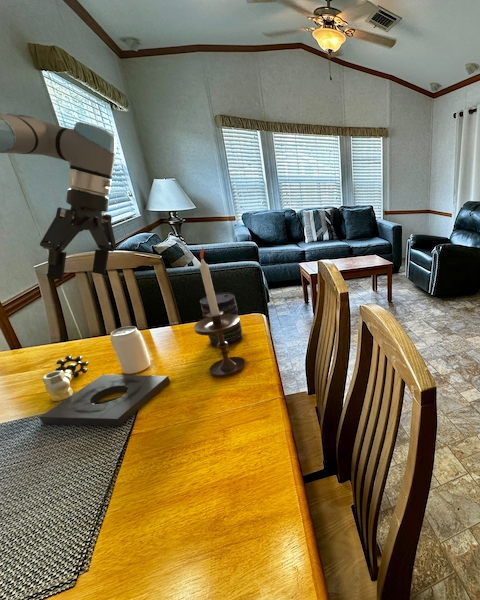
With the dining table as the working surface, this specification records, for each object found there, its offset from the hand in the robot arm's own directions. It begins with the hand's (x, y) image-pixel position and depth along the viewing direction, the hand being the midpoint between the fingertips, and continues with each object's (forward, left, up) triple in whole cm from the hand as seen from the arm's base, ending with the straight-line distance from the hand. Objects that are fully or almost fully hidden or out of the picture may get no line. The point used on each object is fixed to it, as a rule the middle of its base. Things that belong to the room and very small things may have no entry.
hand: (78, 275), depth 83 cm
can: (+7, 0, -28) cm, 29 cm away
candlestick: (+33, +1, -28) cm, 43 cm away
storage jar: (+24, +17, -28) cm, 40 cm away
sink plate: (+12, -14, -28) cm, 33 cm away
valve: (-4, -10, -28) cm, 30 cm away
